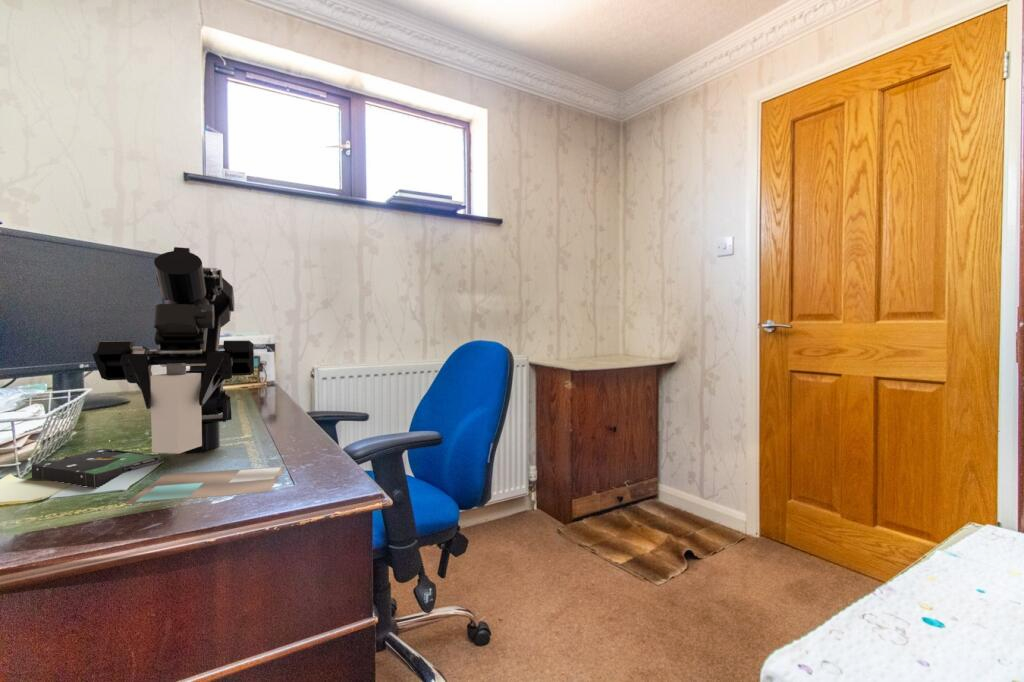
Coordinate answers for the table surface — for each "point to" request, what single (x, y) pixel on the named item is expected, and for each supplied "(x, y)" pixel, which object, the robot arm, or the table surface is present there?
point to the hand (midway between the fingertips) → (174, 405)
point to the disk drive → (92, 467)
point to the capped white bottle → (176, 410)
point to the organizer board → (209, 484)
